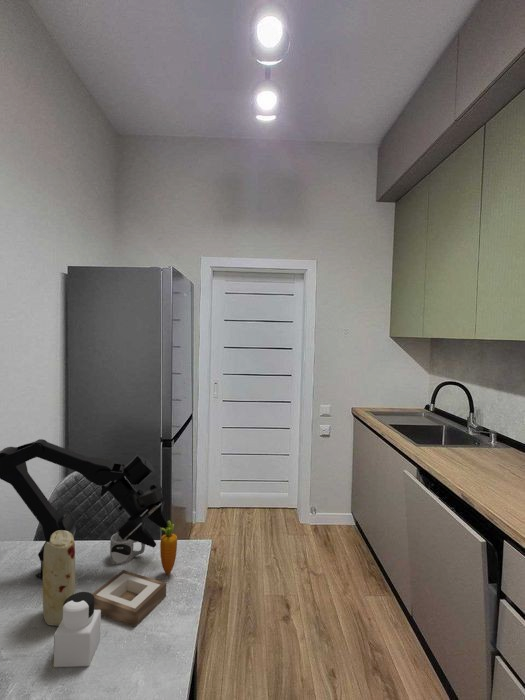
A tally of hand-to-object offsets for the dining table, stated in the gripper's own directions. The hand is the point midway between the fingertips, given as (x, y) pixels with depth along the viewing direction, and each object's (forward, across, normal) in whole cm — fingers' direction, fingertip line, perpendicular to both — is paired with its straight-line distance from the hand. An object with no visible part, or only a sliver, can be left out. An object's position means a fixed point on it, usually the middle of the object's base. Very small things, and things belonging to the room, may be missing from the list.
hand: (162, 537), depth 112 cm
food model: (-4, -22, +19) cm, 29 cm away
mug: (-2, +5, +17) cm, 18 cm away
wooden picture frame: (+5, -13, +9) cm, 17 cm away
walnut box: (+5, -13, +9) cm, 17 cm away
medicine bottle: (+4, -30, +11) cm, 32 cm away
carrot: (+9, 0, +6) cm, 11 cm away
